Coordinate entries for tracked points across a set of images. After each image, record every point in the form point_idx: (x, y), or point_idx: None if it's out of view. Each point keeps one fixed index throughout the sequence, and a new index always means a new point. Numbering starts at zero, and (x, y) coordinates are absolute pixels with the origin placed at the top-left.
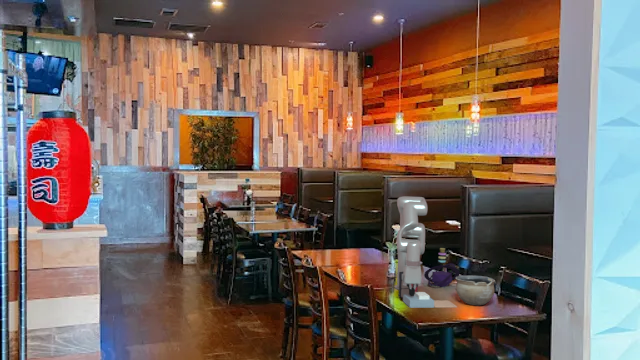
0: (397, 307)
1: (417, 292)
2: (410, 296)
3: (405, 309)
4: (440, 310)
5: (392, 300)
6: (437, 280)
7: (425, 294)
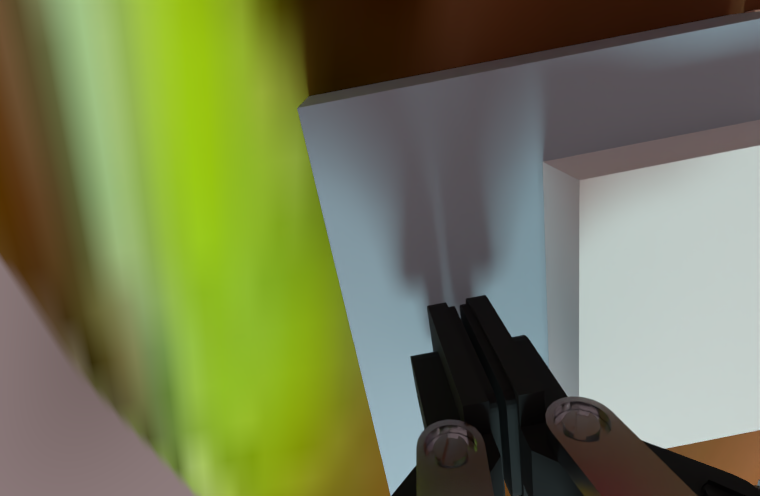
0: (227, 437)
1: (638, 212)
2: (440, 263)
3: (323, 487)
4: (707, 448)
5: (110, 64)
6: None
7: (743, 354)
